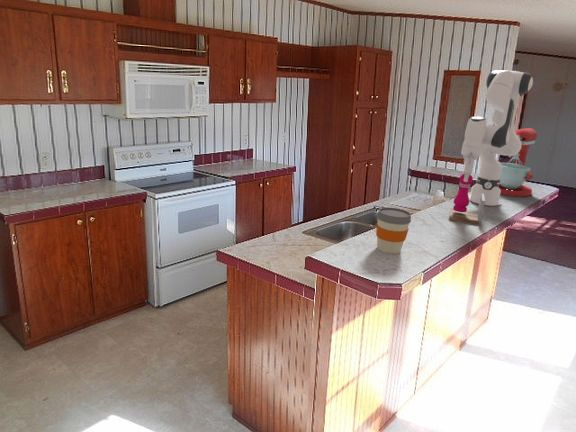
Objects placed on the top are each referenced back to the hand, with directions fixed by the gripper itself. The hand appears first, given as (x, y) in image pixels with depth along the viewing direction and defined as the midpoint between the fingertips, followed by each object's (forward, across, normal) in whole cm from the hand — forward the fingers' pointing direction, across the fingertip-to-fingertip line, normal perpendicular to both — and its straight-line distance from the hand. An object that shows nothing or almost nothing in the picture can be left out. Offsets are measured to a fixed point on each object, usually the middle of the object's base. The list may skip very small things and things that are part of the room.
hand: (465, 180), depth 225 cm
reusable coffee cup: (+19, -65, +24) cm, 72 cm away
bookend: (+19, 0, -3) cm, 19 cm away
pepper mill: (+15, 0, 0) cm, 16 cm away
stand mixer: (+19, +86, -30) cm, 93 cm away
